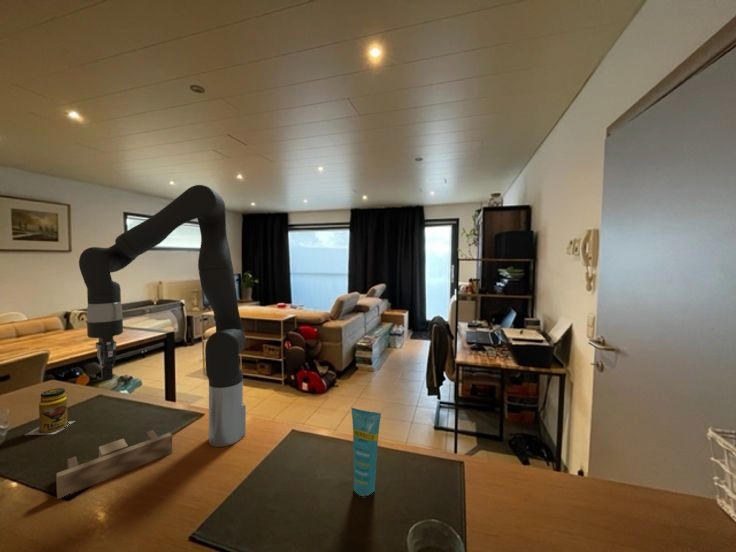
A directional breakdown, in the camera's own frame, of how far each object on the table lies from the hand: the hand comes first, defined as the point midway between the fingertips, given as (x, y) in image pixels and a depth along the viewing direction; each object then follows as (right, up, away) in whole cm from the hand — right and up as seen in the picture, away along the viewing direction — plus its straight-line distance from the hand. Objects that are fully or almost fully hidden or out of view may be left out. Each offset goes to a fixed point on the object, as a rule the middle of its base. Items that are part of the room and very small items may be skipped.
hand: (107, 379), depth 84 cm
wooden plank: (+9, -20, -7) cm, 23 cm away
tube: (+73, -21, -15) cm, 78 cm away
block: (+8, -20, -7) cm, 22 cm away
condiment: (-26, -19, +9) cm, 33 cm away
